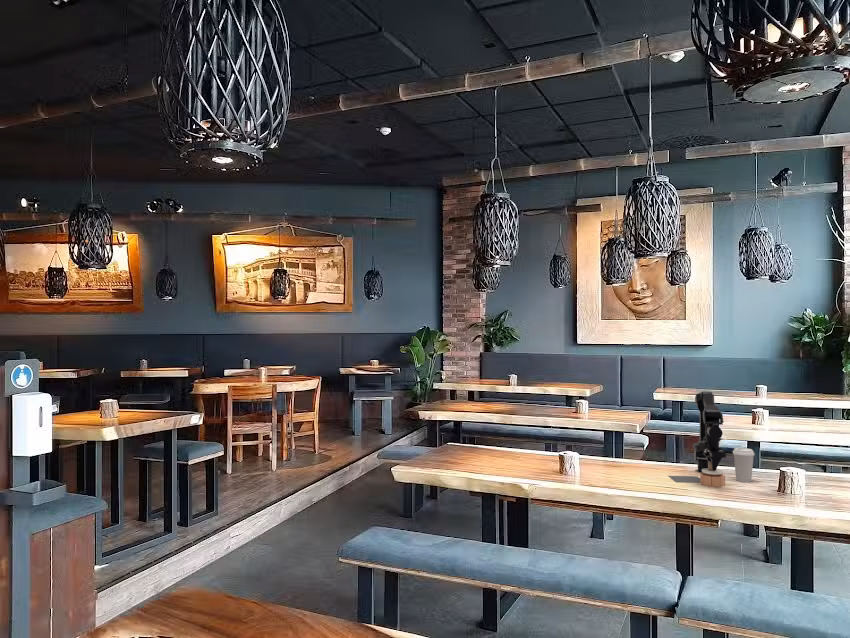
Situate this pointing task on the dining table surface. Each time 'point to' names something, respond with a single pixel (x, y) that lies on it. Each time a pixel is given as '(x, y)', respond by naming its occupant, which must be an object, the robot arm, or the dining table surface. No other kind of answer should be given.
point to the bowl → (712, 480)
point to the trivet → (685, 479)
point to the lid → (711, 470)
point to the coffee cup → (743, 464)
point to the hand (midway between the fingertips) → (712, 469)
